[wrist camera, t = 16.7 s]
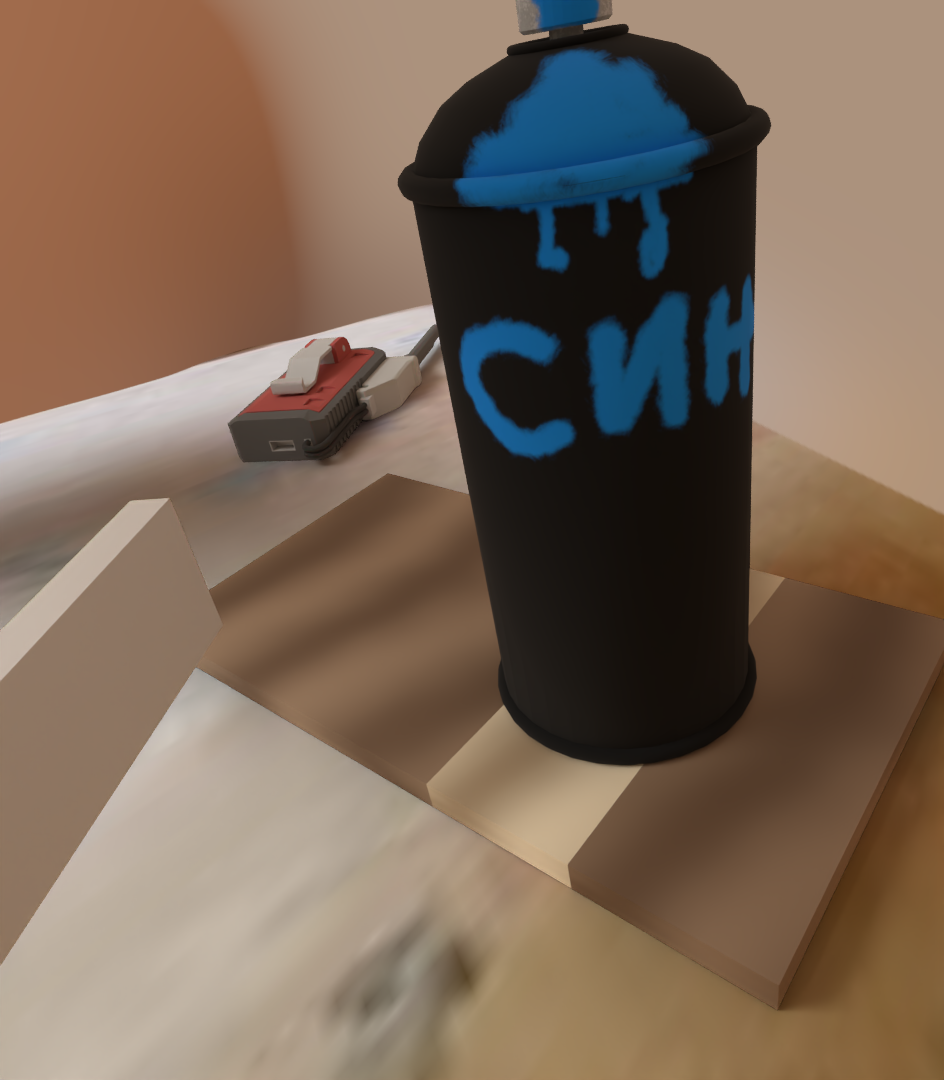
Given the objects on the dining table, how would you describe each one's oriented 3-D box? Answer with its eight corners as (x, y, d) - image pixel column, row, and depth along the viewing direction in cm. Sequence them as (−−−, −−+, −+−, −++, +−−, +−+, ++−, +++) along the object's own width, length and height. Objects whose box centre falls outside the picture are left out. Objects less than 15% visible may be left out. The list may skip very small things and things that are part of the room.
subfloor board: (160, 646, 34) (152, 627, 33) (392, 490, 42) (387, 473, 42) (777, 1010, 18) (778, 985, 18) (952, 646, 26) (956, 622, 26)
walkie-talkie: (359, 474, 46) (455, 345, 61) (339, 401, 43) (444, 286, 59) (224, 477, 48) (349, 353, 64) (198, 409, 46) (335, 297, 62)
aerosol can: (489, 616, 30) (361, -32, 20) (709, 578, 30) (699, -100, 19) (512, 790, 23) (334, -71, 13) (800, 743, 23) (862, -178, 12)
